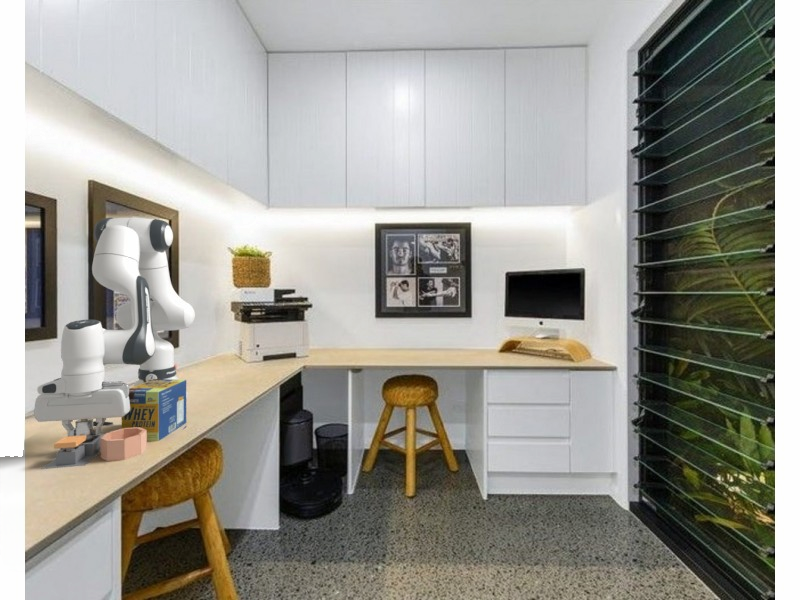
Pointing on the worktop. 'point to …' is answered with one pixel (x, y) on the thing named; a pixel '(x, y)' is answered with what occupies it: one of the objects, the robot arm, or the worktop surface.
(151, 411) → the protein box
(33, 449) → the worktop surface
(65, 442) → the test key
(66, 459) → the gray square socket tray
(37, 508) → the worktop surface
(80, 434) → the cell
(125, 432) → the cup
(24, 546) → the worktop surface
